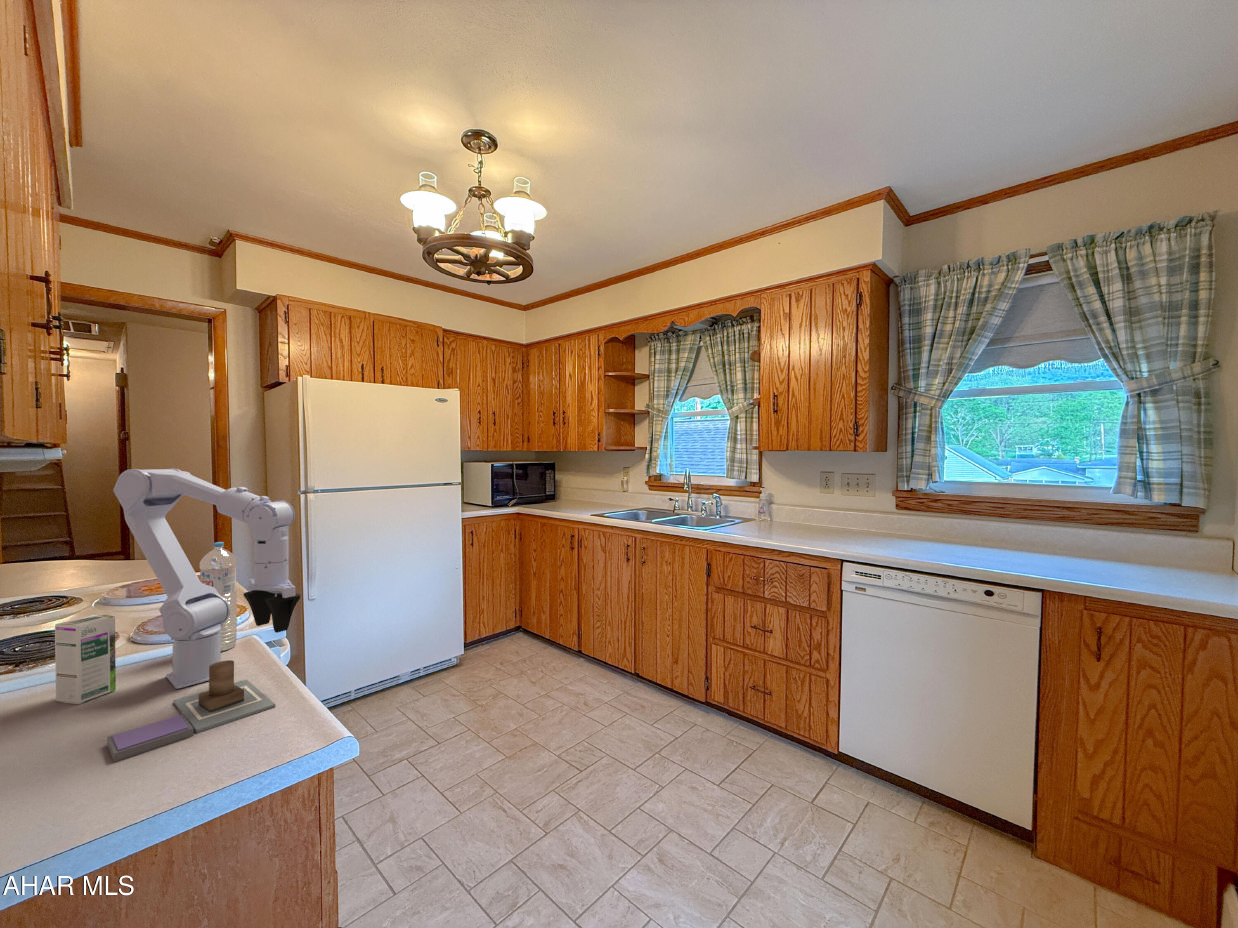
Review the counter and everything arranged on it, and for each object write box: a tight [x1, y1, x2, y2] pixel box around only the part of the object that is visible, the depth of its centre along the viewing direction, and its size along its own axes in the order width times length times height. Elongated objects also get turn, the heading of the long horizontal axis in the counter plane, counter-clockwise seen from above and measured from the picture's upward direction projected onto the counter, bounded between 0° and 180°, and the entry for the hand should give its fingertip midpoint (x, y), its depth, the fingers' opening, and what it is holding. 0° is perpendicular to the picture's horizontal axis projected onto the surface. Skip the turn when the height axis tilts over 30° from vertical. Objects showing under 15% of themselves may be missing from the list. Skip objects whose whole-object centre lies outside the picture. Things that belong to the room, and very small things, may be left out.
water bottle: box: [199, 541, 238, 653], centre depth 115 cm, size 7×7×25 cm
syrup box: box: [54, 614, 117, 705], centre depth 92 cm, size 6×6×14 cm
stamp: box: [199, 660, 244, 713], centre depth 89 cm, size 5×5×7 cm
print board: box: [173, 679, 276, 734], centre depth 89 cm, size 16×11×1 cm
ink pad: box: [106, 713, 194, 763], centre depth 78 cm, size 7×9×1 cm
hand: (271, 627), depth 100 cm, fingers open, 7 cm apart
